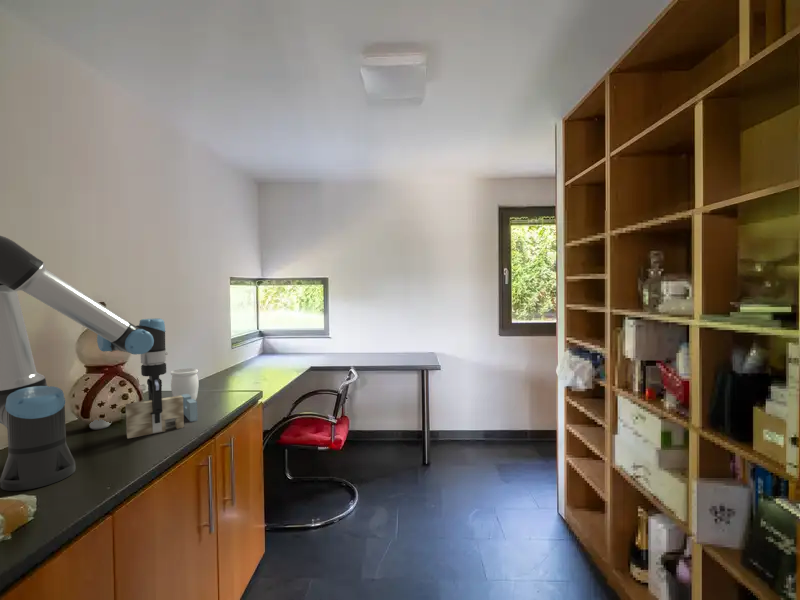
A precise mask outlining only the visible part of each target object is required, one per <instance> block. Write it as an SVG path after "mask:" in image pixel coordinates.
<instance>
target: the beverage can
mask: <svg viewBox="0 0 800 600" xmlns="http://www.w3.org/2000/svg"><path fill="white" fill-rule="evenodd" d="M111 424H112V422H111V423H109V422H106V421H104V420H102V419H101V420H100V419H99V421H98V420H94V421H93V422H91V423H90V424H89V423H88V425H89V428H90V429H91V430H102V429H106V428H108V427H110V425H111Z"/></svg>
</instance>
